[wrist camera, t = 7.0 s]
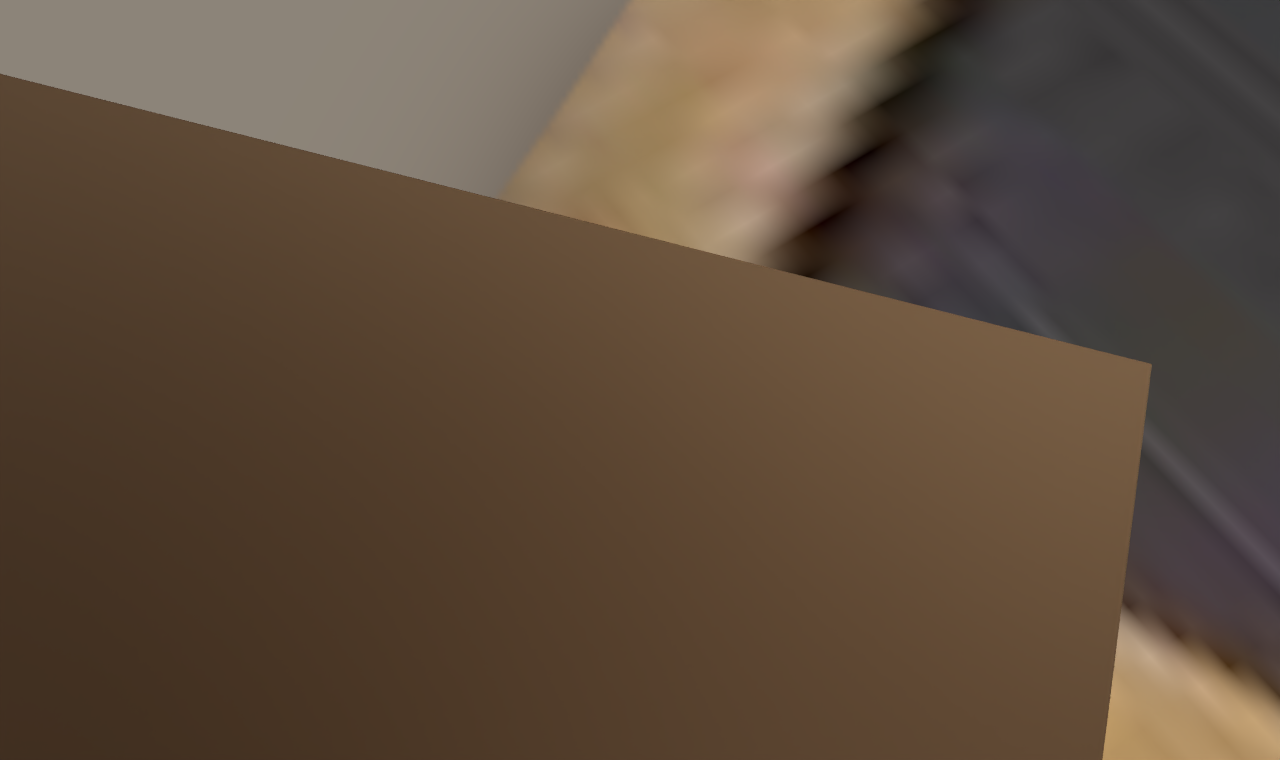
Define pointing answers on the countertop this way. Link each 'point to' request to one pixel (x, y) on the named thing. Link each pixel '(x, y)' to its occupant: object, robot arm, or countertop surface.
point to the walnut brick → (514, 480)
